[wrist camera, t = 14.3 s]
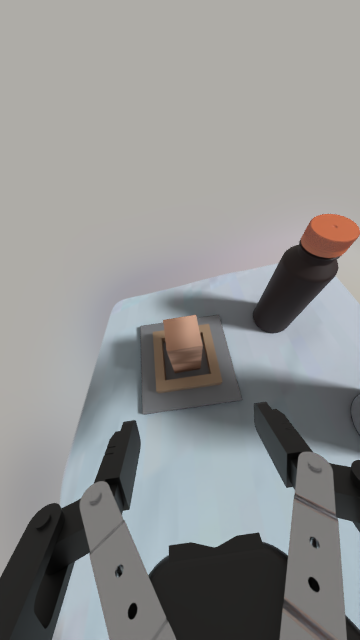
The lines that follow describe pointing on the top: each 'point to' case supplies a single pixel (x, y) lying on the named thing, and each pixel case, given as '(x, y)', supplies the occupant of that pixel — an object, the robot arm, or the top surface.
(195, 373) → the socket dock
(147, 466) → the top surface
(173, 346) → the terracotta post
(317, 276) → the bottle
